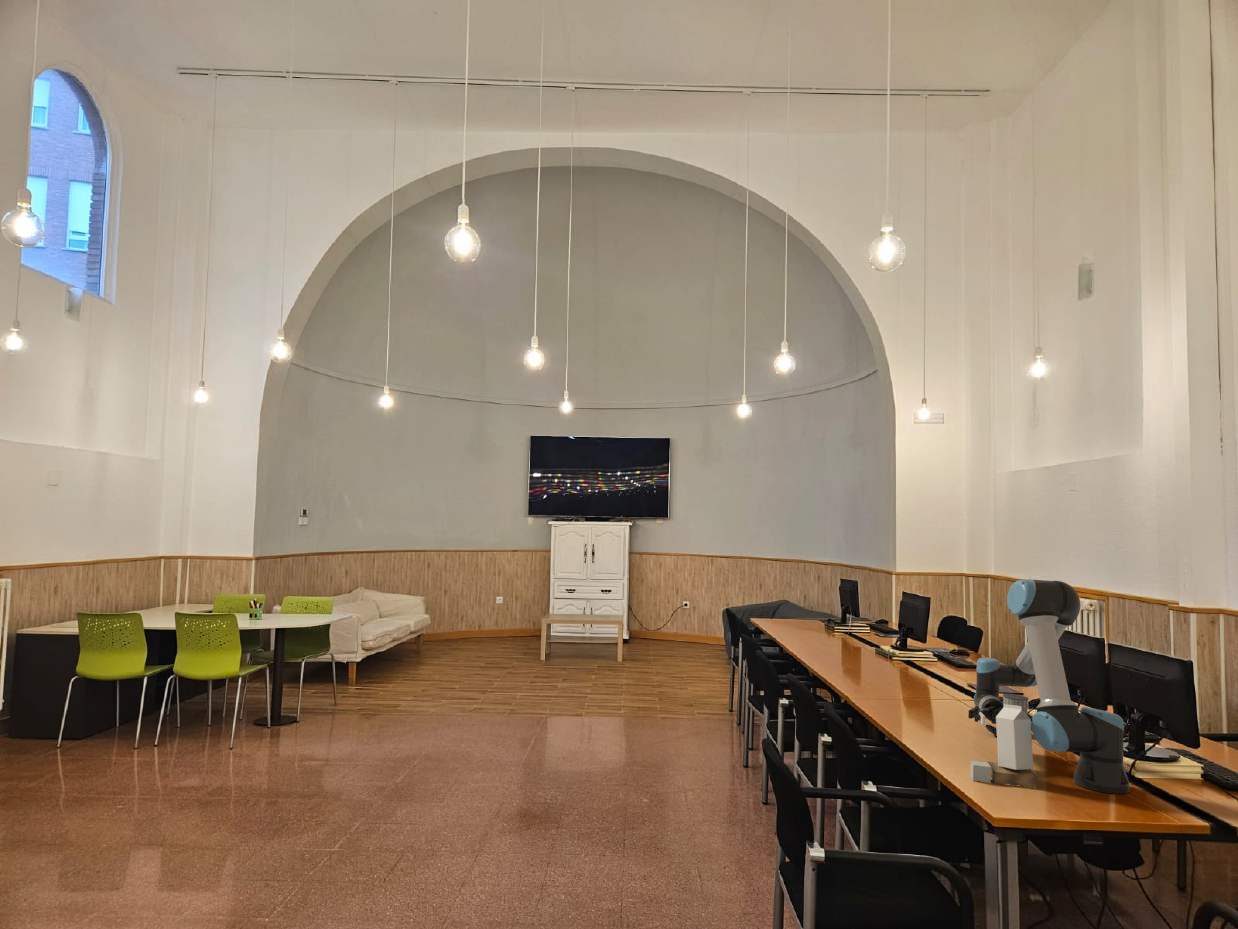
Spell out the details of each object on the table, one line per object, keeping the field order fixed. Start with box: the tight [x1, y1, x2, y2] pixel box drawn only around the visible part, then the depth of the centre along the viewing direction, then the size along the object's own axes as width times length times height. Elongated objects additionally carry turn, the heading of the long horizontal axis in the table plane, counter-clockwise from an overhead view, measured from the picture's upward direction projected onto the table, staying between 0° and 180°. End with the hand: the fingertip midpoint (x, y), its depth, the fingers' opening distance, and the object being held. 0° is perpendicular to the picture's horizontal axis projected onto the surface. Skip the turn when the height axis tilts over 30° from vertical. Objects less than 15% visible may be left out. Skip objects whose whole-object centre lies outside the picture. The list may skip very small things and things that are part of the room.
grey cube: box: [969, 760, 992, 784], centre depth 257 cm, size 5×5×5 cm
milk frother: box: [984, 693, 1030, 737], centre depth 319 cm, size 14×16×15 cm
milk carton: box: [995, 704, 1034, 770], centre depth 260 cm, size 7×7×19 cm
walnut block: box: [986, 761, 1038, 788], centre depth 259 cm, size 12×12×4 cm
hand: (1006, 723), depth 266 cm, fingers open, 13 cm apart
